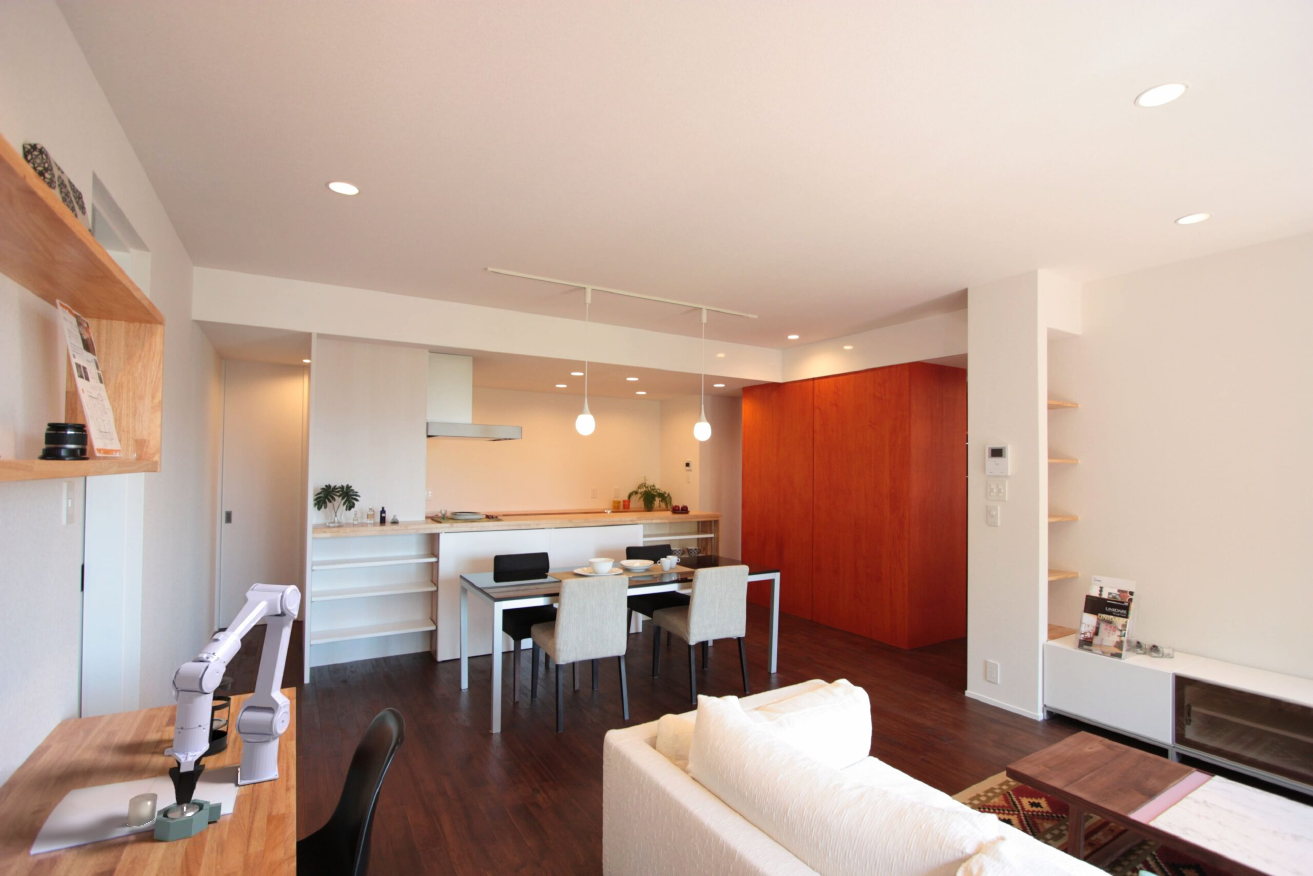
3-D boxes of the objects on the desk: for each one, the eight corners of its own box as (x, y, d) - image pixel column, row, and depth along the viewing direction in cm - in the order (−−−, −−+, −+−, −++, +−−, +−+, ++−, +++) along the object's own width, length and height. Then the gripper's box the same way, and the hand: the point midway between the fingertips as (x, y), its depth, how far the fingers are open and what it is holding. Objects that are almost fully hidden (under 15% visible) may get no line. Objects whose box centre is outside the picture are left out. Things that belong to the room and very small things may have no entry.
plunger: (168, 811, 125) (171, 780, 126) (199, 805, 128) (202, 775, 129) (166, 823, 121) (169, 791, 122) (198, 816, 124) (201, 785, 124)
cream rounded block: (128, 818, 127) (131, 795, 128) (156, 813, 130) (158, 791, 130) (125, 829, 124) (127, 805, 124) (153, 823, 126) (156, 800, 126)
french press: (228, 753, 158) (238, 659, 160) (182, 762, 152) (192, 664, 154) (225, 737, 167) (234, 648, 169) (181, 745, 162) (191, 652, 164)
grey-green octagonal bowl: (157, 824, 126) (159, 805, 126) (220, 811, 131) (222, 794, 132) (151, 845, 119) (154, 825, 119) (219, 831, 124) (221, 812, 125)
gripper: (171, 715, 130) (163, 783, 129) (163, 740, 118) (155, 816, 117) (212, 710, 134) (205, 776, 133) (209, 734, 122) (202, 807, 121)
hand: (185, 795), depth 125 cm, fingers open, 7 cm apart
